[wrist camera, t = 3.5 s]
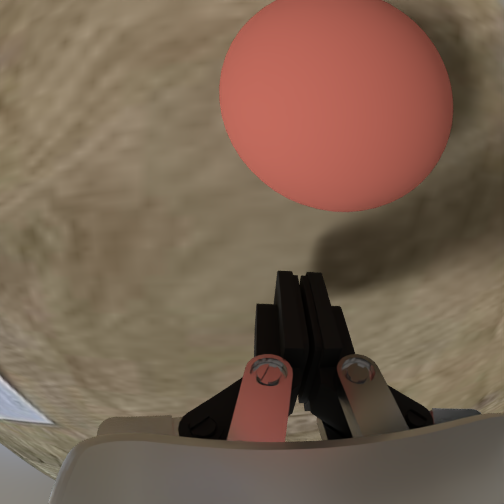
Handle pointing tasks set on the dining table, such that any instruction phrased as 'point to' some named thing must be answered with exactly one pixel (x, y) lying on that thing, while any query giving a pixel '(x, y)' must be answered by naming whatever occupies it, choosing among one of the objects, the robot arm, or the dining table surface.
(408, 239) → the dining table surface
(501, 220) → the dining table surface
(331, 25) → the ball
